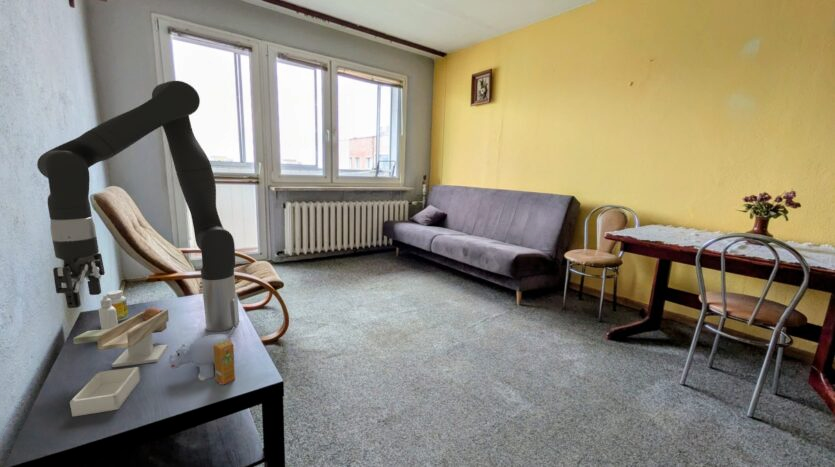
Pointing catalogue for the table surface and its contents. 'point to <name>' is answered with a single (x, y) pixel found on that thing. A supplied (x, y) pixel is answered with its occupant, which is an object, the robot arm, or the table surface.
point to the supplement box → (224, 362)
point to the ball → (151, 313)
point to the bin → (105, 391)
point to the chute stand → (141, 353)
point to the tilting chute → (125, 332)
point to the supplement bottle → (119, 304)
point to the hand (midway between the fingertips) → (85, 300)
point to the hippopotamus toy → (200, 354)
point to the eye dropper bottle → (107, 314)
